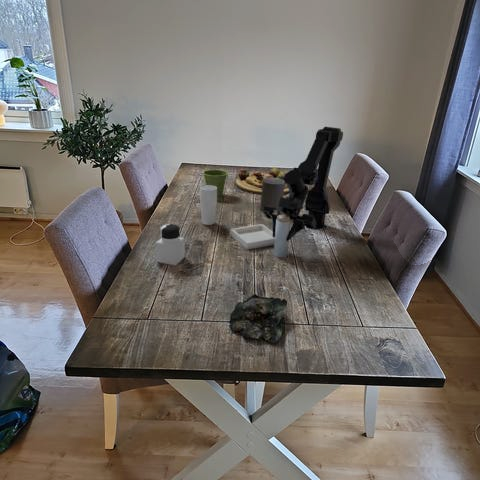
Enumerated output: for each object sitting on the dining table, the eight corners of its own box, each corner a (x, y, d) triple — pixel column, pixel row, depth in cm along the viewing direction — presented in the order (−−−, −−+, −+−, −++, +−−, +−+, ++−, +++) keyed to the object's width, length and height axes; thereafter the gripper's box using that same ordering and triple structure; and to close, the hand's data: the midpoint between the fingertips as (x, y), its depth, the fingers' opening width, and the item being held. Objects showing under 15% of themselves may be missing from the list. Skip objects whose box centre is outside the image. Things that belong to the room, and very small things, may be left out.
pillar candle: (257, 211, 186) (259, 178, 180) (264, 205, 194) (266, 173, 188) (278, 215, 183) (281, 182, 177) (284, 208, 191) (288, 176, 185)
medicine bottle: (185, 256, 143) (184, 224, 138) (175, 266, 137) (174, 231, 132) (166, 253, 145) (165, 220, 140) (156, 262, 139) (154, 228, 134)
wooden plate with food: (222, 186, 219) (223, 171, 215) (256, 173, 243) (257, 159, 239) (276, 201, 203) (277, 185, 199) (306, 186, 227) (308, 171, 223)
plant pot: (232, 194, 206) (232, 172, 202) (218, 200, 197) (218, 177, 193) (212, 190, 212) (212, 167, 207) (197, 195, 203) (197, 172, 198)
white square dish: (261, 229, 168) (262, 223, 166) (280, 243, 156) (281, 237, 155) (229, 235, 162) (230, 229, 161) (246, 249, 150) (247, 243, 149)
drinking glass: (214, 227, 168) (214, 190, 162) (197, 225, 169) (197, 189, 163) (218, 221, 174) (219, 186, 168) (202, 219, 175) (202, 184, 169)
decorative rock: (293, 333, 101) (230, 328, 100) (289, 352, 104) (228, 348, 102) (284, 287, 117) (230, 283, 116) (281, 305, 120) (228, 301, 119)
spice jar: (282, 250, 151) (285, 213, 145) (290, 256, 147) (293, 218, 141) (271, 253, 149) (273, 215, 143) (278, 258, 145) (281, 220, 139)
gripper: (266, 182, 145) (248, 222, 141) (317, 192, 137) (300, 235, 133) (274, 198, 155) (258, 236, 151) (323, 209, 146) (307, 249, 142)
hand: (280, 238), depth 144 cm, fingers closed on spice jar, 5 cm apart
